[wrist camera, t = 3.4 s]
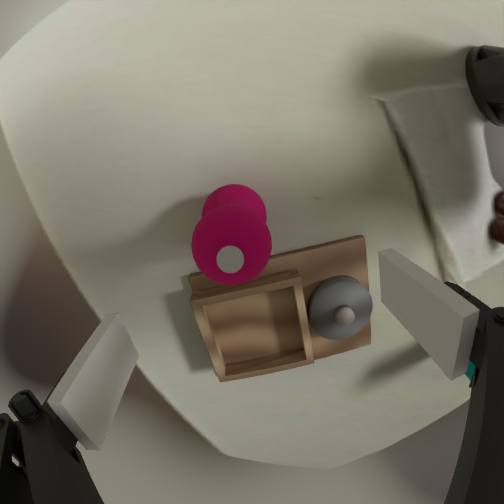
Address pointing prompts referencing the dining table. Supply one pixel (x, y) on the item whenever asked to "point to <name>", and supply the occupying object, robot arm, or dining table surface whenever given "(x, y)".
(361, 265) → the pulley board
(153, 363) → the dining table surface
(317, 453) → the dining table surface
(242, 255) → the pepper mill
